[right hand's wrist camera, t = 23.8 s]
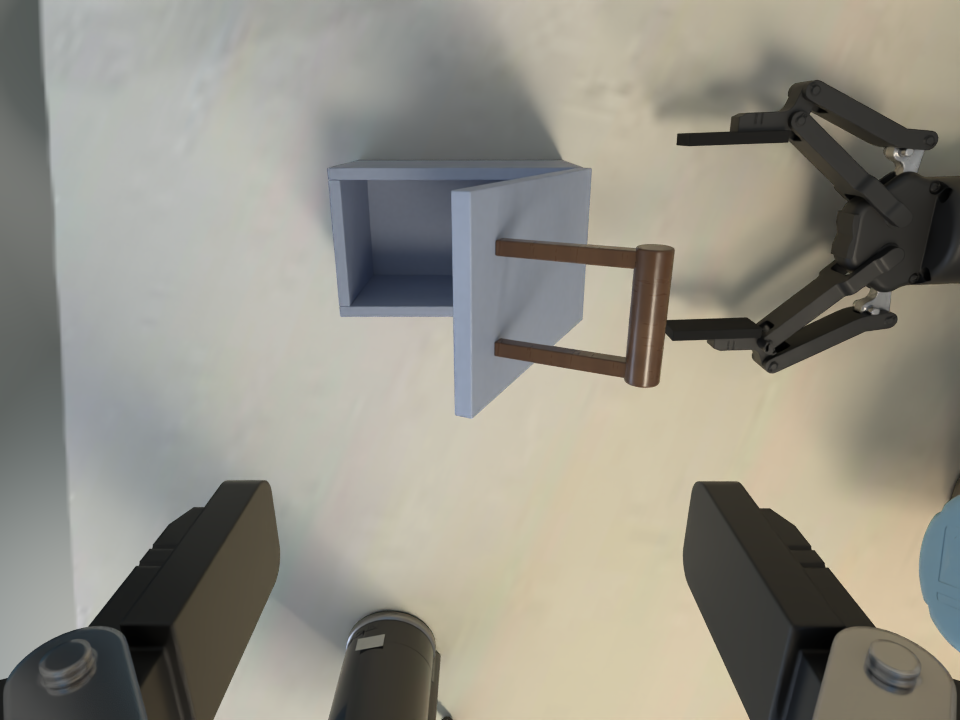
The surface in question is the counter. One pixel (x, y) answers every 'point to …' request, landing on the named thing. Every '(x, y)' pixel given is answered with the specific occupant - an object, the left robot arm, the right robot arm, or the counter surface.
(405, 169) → the chest
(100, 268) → the counter surface
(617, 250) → the lid
